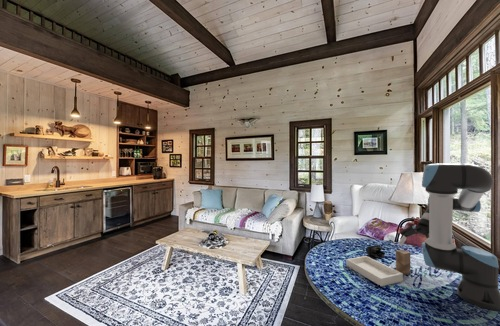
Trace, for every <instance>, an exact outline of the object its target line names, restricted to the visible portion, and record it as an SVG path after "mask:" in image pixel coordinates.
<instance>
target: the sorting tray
mask: <svg viewBox="0 0 500 326" xmlns="http://www.w3.org/2000/svg"><path fill="white" fill-rule="evenodd" d="M345 265H346V267H349V268H350V269H351V270H353V271H355V272H356V273H357V274H359V275H362V276H363V277H365V279H368V280H370V281H372V282H373V283H374V284H377V285H378V286H379V285H380V287H384V286H389V285H392V284H396V283H400V282H403V281H404V274H403V273H401V272H398V271H396V269H394V268H392V267H390V266H388V265H386V264H384V263H382V262H380V261H378V260H377V259H374V258H372V257H370V256H369V255H368V256H367V255H364V256H358V257H351V258H347V259H346V264H345Z"/></svg>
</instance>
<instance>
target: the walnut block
mask: <svg viewBox="0 0 500 326" xmlns="http://www.w3.org/2000/svg"><path fill="white" fill-rule="evenodd" d="M411 264H412V263H411V252H409V251H406V250H404V249H397V250H395V270H396V271H398V272H401V273H403V276H404V275H410V274H411V269H412V268H411V266H412V265H411Z"/></svg>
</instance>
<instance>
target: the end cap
mask: <svg viewBox="0 0 500 326" xmlns="http://www.w3.org/2000/svg"><path fill="white" fill-rule="evenodd" d="M365 251H366V254H367V255H368V257H370V258H372V257H373V258H372V259H374V258H375V259H374V260H377V259H381V258H385V255H386V253H385V251H386V248H385V247H382V246H381V245H380V244H376V245H371V246H369V245H368V246H367V247H366V248H365Z"/></svg>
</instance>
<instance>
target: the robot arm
mask: <svg viewBox="0 0 500 326" xmlns="http://www.w3.org/2000/svg"><path fill="white" fill-rule="evenodd" d="M494 183H495V180H494V177H493V176H492V174H491V173H490V172H489V171H488V170H486V169H485V168H483V167H481V166H479V165H477V164H471V163H429V164H426V165H425V166H424V170H423V172H422V180H421V187H423V188H425V192H426V193H428V195H429V196H428V199H427V208H426V210H425V211H424V213H423V214H422V216H421V218H420V219H419V220H418V222H417V225H415V224H414V223H411V224H410V225H409V226H407V228H405V229H403V230H402V231H400V232H399V234H400V235H401V237H400V238H399V239H400V240H399V242H397V243H398V245H399V246H400V247H403V245H404V244H405V242H406V240H407V237H411V236H413V235H417V234H419V235H422V236H425V240H424V242H421V248H422V250H421V253H422V256H423V260H424V264H425V265H426V266H427V267H430V268H434V269H436V270H441V271H442V270H443V271H447V272H450V273H451V272H452V273H454V274H455V273H456V274H460V275H461V279H460V281H459V284H458V285H457V288H456V294H457V296H458V297H460V298H461V299H462V300H464V301H466V302H467V303H469V304H471V305H474V306H477V307H479V308H482V309H486V310H490V311H491V310H492V311H500V289H499V268H500V266H499V261H498V257H497V256H496V255H495V254H493V253H491V252H489V251H488V250H485V249H481V248H478V247H475V246H470V245H462V246H461V248H458V247H457V245H456V243H454V242H453V214H454V213H453V212H454V211H460V212H469V213H479V212H480V211H481V208H482V207H481V206H482V203H481V201H480V200H481V198H482V196H484V194H485V193H487V192H489V191H491V189H492V188H493V186H494ZM458 190H461V191H460V193H459V195H458V197H457V196H455V195H457V194H458Z"/></svg>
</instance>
